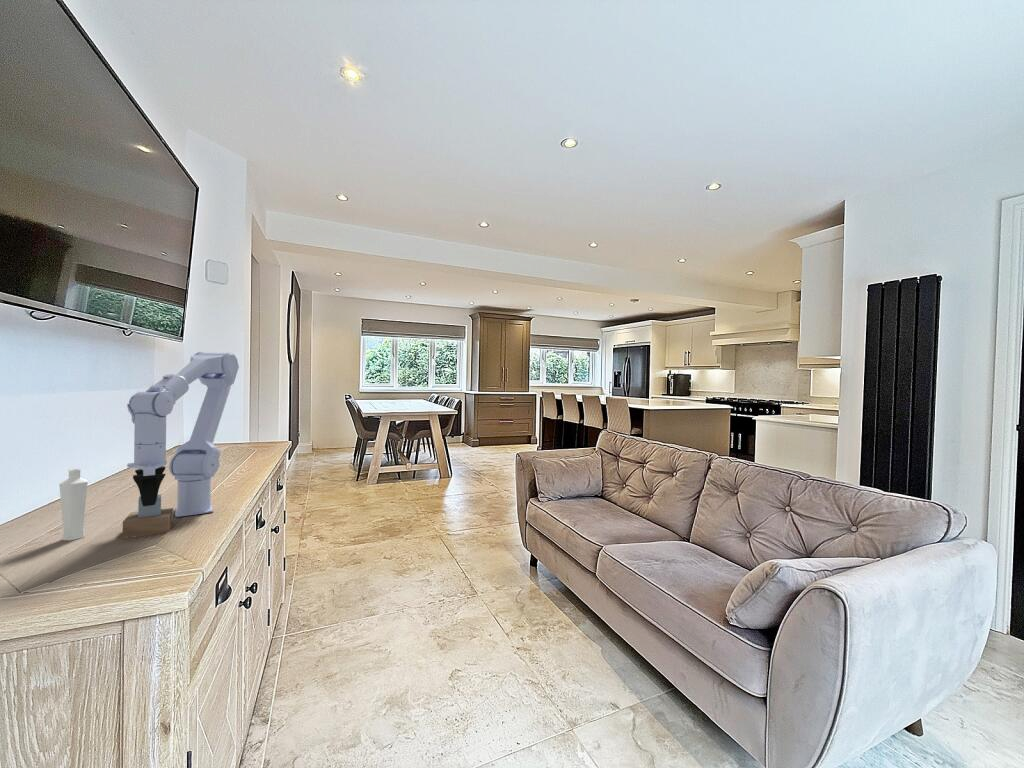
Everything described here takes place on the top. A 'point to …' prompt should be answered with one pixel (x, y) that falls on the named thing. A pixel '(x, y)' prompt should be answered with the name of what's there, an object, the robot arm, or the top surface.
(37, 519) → the top surface
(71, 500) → the perfume bottle
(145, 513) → the slate-blue cube
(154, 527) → the walnut block
